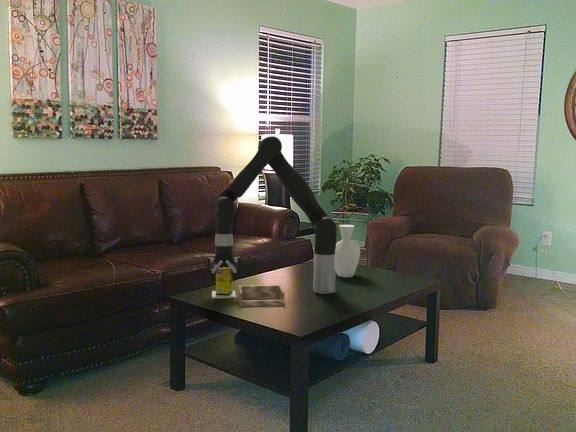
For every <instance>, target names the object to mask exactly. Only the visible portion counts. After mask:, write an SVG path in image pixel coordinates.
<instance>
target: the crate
mask: <svg viewBox="0 0 576 432" xmlns="http://www.w3.org/2000/svg"><path fill="white" fill-rule="evenodd" d="M237 288H238V289H237V290H238V295H237V296H238V303H239V307H262V306H263V305H264V306H265V307H266V306H267V307H268V306H285V303H286V302H285V301H286V300H285V293H286V292H285V291H284V288H283V286H282V285H281V284H275V285H274V284H272V285H271V284H269V285H268V284H267V285H264V284H263V285H238V287H237ZM257 297H258V298H260V297H266V298H278V299H263V300H262V299H261V298H260V299H261V300H259V299H258V300H257ZM247 298H248V300H246V299H247ZM253 298H254V299H253ZM243 299H245V300H243ZM249 299H251V300H249ZM252 299H253V300H252ZM255 299H256V300H255Z"/></svg>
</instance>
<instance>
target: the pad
mask: <svg viewBox="0 0 576 432" xmlns="http://www.w3.org/2000/svg"><path fill="white" fill-rule="evenodd" d="M236 298H237V295H236V290H233V291H232V293H231V294H230V295H229V296H225V295H216V290H211V299H213V300H214V299H236Z"/></svg>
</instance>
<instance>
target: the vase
mask: <svg viewBox="0 0 576 432" xmlns="http://www.w3.org/2000/svg"><path fill="white" fill-rule="evenodd" d="M338 227H339V231H340V232H339V233H340V235H341V240H339V241H338V242H336V249H335V272H336V275H337V276H338V277H340V278H352V277H354V275H355V273H356V270H357V267H358V264H359V261H360V256H361V247H360V246H359V245H358V244H356V242H354V241H352V240H351V238H352V235H353V232H354V229H355V225H353V224H339V225H338Z"/></svg>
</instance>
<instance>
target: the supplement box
mask: <svg viewBox="0 0 576 432" xmlns="http://www.w3.org/2000/svg"><path fill="white" fill-rule="evenodd" d="M233 285H234V284H233V270H232V269H231V268H230V267H228V268H225V267H223V268H220V267H218V269H217V270H216V271H215V291H216V295H225V296H229V295H230V294H231V293H232V291H234V290H233V289H234V288H233Z"/></svg>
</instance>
